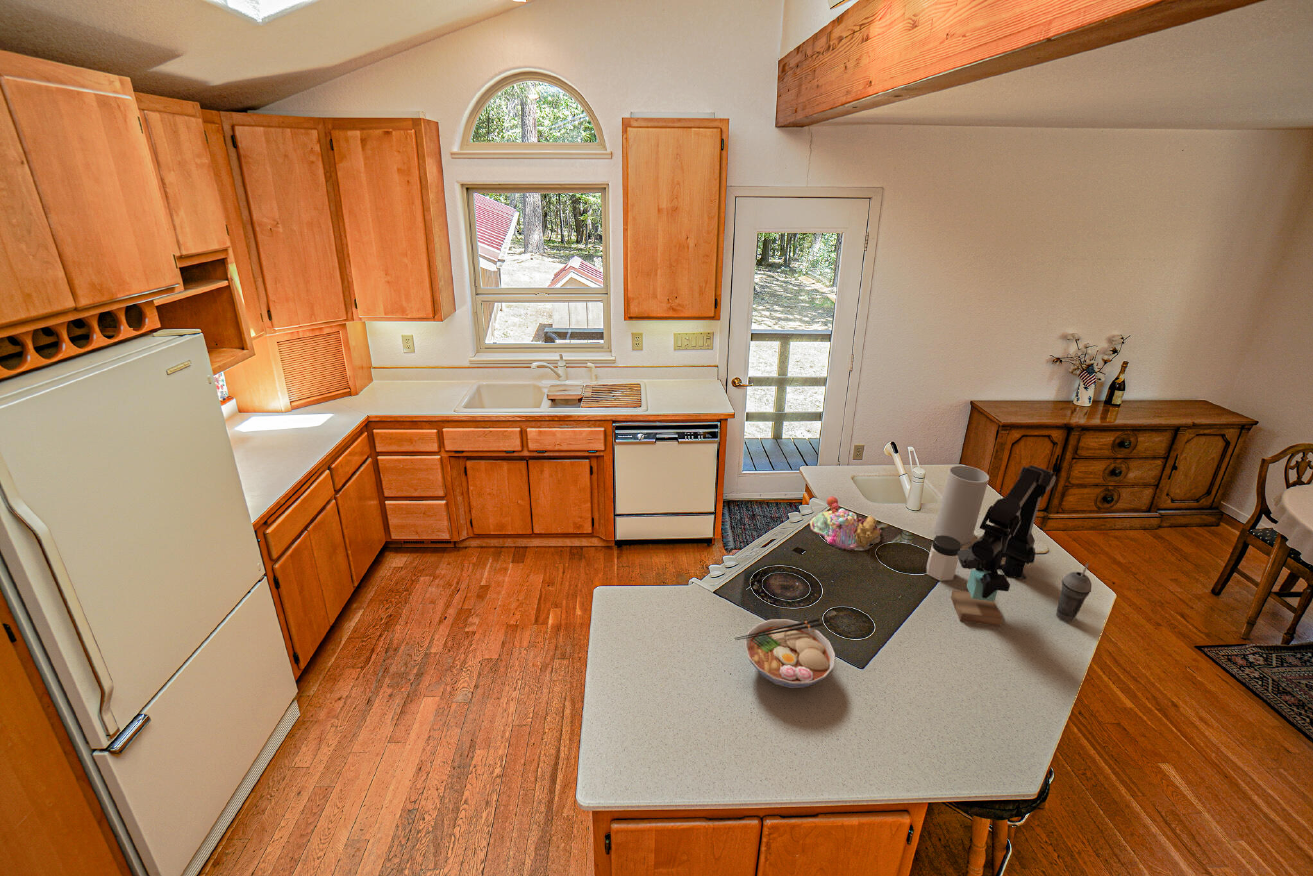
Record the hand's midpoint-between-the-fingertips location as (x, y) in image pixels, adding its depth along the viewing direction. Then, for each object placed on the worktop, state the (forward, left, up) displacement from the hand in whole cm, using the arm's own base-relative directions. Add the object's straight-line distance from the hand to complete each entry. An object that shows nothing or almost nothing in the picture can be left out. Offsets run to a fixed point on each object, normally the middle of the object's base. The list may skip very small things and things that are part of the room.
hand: (981, 590), depth 184 cm
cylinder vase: (-43, +4, -8) cm, 44 cm away
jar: (-18, -6, -8) cm, 20 cm away
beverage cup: (-3, +26, -8) cm, 27 cm away
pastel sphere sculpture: (-37, -34, -8) cm, 51 cm away
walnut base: (0, 0, -8) cm, 8 cm away
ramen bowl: (+36, -56, -8) cm, 67 cm away
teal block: (0, 0, -1) cm, 1 cm away
